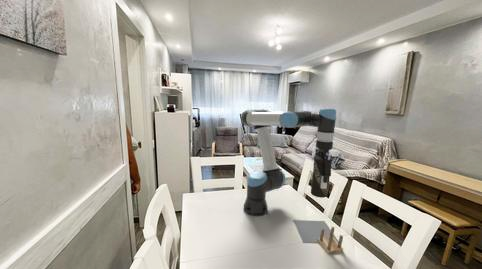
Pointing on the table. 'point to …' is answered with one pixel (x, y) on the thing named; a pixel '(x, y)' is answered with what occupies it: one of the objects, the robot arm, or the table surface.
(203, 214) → the table surface
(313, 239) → the mat
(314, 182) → the container
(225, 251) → the table surface
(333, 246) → the stool
